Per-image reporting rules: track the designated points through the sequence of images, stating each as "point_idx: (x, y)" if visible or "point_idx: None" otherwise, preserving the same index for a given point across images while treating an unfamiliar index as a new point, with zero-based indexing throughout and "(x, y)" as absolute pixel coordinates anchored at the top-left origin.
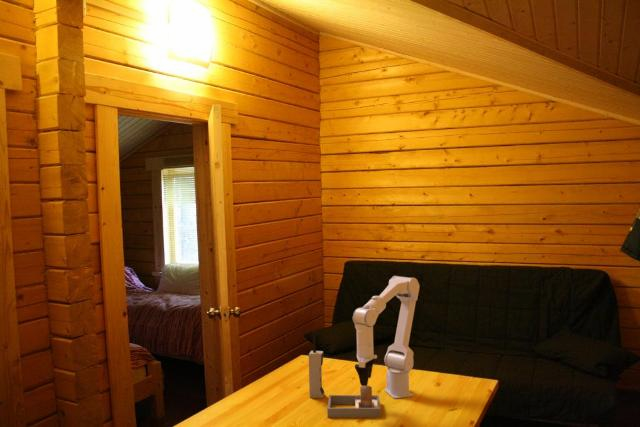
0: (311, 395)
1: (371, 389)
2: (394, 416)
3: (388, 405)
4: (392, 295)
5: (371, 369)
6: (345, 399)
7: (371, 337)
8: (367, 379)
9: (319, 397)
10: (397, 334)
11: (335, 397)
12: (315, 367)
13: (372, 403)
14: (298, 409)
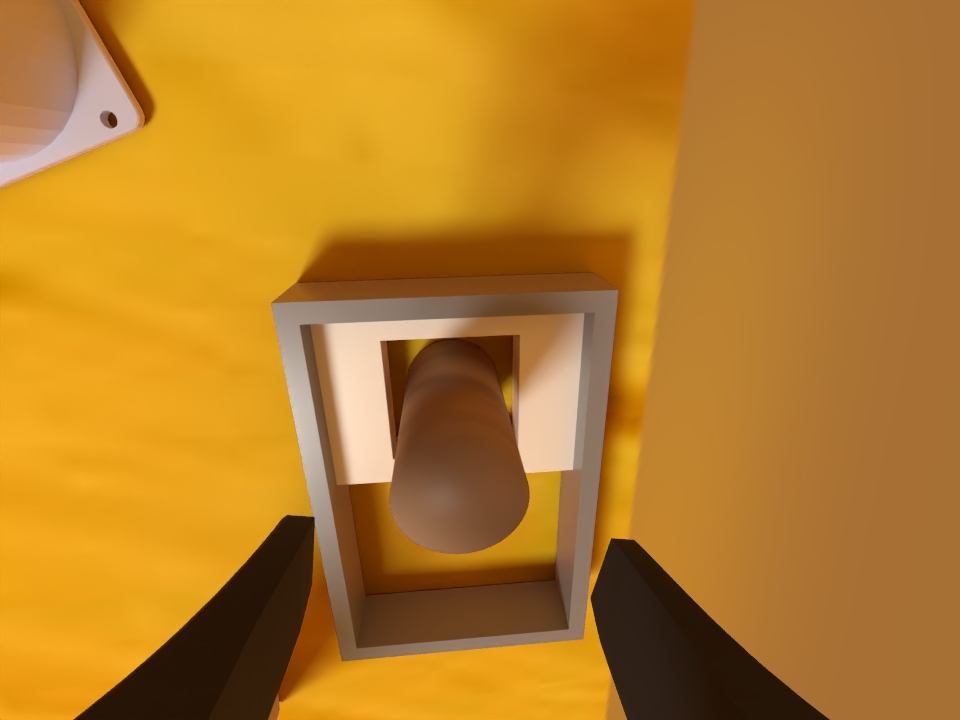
0: (275, 713)
1: (480, 434)
2: (576, 148)
3: (329, 194)
4: None
5: (257, 628)
6: (348, 546)
7: None
8: (706, 616)
9: None
10: None
11: (353, 615)
12: None
13: (383, 348)
14: (458, 717)
